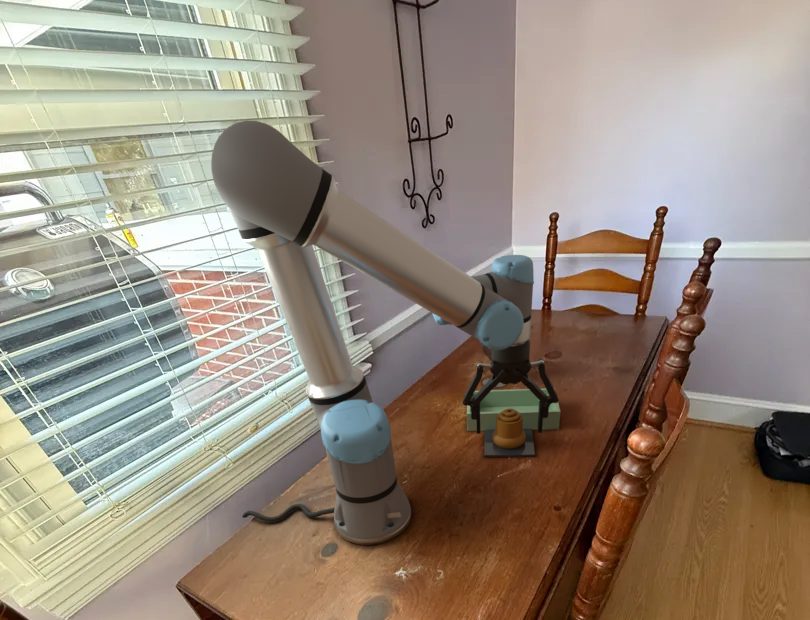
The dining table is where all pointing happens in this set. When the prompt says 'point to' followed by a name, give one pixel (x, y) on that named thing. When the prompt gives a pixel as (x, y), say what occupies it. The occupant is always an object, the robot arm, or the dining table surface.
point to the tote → (518, 401)
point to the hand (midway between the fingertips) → (508, 430)
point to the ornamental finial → (509, 429)
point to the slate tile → (520, 451)
